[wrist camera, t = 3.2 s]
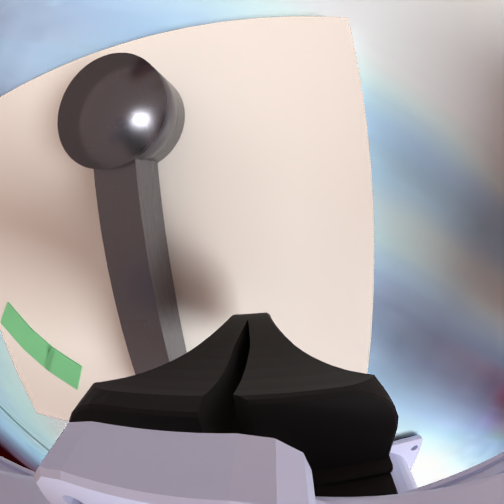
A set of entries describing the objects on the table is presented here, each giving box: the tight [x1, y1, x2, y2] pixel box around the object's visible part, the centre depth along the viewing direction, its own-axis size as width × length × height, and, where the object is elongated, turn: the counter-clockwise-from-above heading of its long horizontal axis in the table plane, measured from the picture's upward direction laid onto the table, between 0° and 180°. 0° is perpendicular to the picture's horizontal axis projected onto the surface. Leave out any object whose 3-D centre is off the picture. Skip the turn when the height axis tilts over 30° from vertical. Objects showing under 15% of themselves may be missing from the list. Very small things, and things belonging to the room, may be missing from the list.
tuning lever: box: [57, 53, 187, 375], centre depth 11 cm, size 14×4×3 cm, turn 5°
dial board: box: [0, 16, 374, 421], centre depth 13 cm, size 20×21×1 cm
